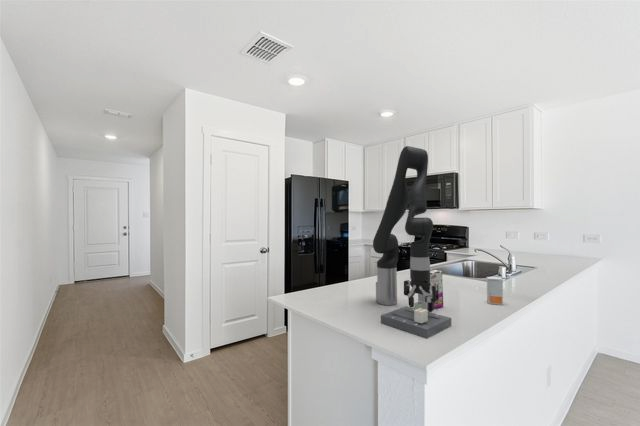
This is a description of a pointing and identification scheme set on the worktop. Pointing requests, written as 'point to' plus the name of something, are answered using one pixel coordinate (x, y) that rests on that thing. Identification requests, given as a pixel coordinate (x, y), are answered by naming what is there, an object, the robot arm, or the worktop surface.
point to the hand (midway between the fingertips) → (420, 309)
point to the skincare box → (495, 290)
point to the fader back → (420, 305)
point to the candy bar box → (434, 280)
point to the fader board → (406, 322)
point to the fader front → (420, 315)
